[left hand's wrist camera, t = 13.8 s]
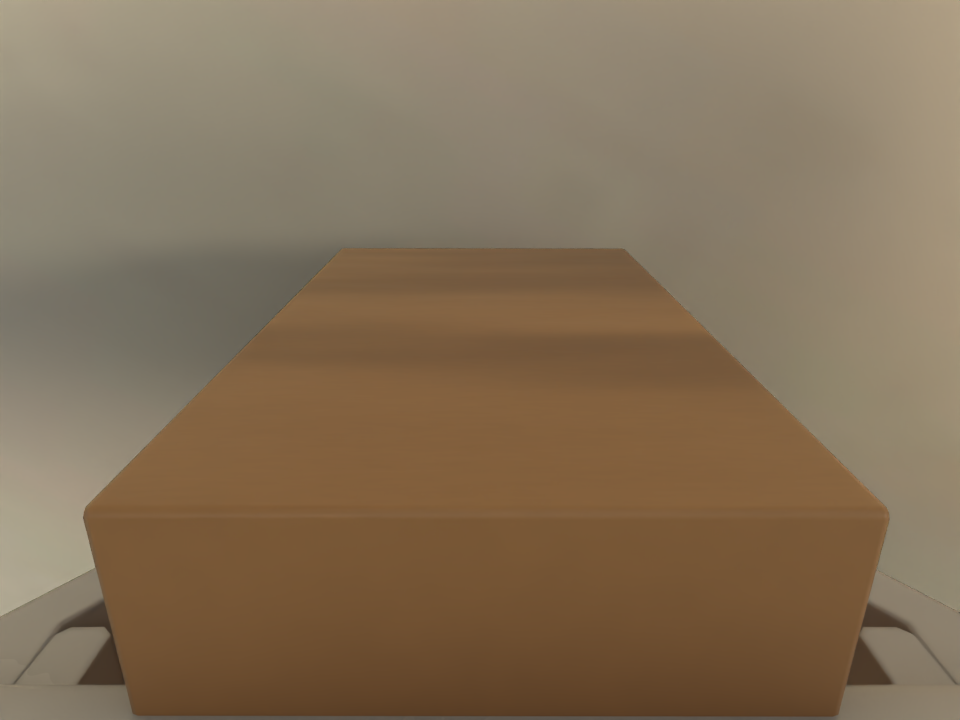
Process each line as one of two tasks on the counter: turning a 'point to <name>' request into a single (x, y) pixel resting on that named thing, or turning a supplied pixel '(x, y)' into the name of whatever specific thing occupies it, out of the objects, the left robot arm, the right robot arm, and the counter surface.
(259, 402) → the bar
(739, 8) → the counter surface
